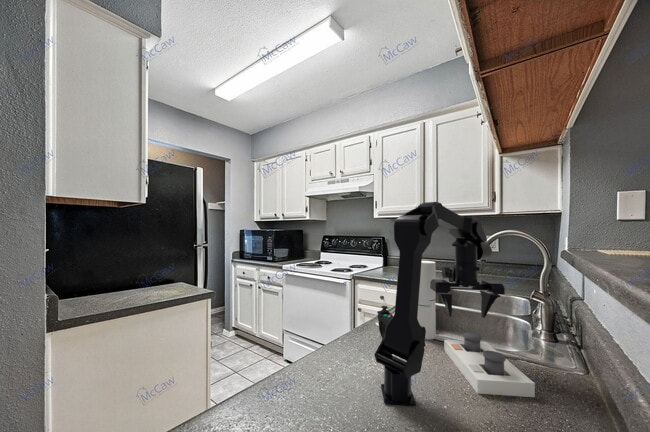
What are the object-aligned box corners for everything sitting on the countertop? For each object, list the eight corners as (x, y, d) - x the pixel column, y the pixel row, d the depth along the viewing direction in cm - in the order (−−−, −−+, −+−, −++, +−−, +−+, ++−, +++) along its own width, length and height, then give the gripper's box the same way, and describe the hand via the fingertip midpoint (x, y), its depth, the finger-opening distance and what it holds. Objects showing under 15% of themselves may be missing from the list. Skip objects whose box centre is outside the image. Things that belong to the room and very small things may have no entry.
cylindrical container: (440, 337, 93) (440, 262, 94) (423, 340, 91) (423, 263, 91) (425, 330, 100) (425, 260, 101) (408, 332, 97) (409, 260, 98)
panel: (534, 397, 61) (534, 382, 61) (477, 393, 62) (477, 378, 62) (485, 352, 83) (485, 341, 83) (444, 349, 84) (444, 339, 84)
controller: (387, 333, 97) (387, 303, 97) (402, 348, 85) (402, 315, 85) (375, 333, 96) (375, 304, 97) (388, 349, 84) (388, 315, 84)
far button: (484, 355, 76) (484, 339, 76) (467, 354, 76) (467, 338, 77) (477, 348, 81) (476, 332, 81) (460, 347, 81) (460, 332, 81)
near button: (509, 380, 64) (509, 360, 64) (488, 378, 64) (488, 358, 65) (499, 369, 69) (499, 351, 69) (479, 368, 69) (479, 350, 69)
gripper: (485, 259, 88) (486, 309, 87) (424, 258, 89) (424, 307, 88) (506, 264, 76) (506, 321, 76) (436, 262, 78) (436, 319, 77)
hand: (466, 316), depth 80 cm, fingers open, 9 cm apart
